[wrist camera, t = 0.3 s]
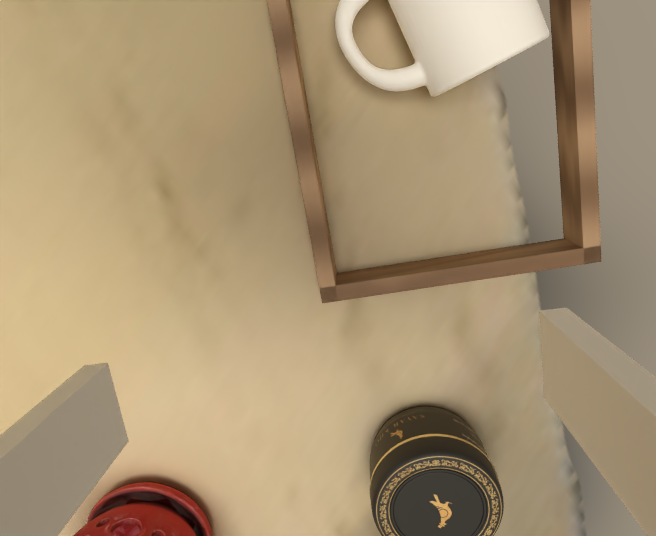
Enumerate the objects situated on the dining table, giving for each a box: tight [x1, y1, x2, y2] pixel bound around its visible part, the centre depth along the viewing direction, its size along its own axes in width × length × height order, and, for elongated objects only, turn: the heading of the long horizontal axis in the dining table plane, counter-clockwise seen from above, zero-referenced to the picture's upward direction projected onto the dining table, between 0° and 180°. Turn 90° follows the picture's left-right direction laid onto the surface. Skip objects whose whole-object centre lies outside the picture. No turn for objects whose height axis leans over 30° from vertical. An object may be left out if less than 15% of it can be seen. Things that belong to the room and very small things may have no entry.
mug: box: [335, 0, 549, 97], centre depth 33 cm, size 12×10×8 cm
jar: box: [370, 407, 504, 536], centre depth 42 cm, size 10×10×8 cm
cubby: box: [267, 0, 601, 303], centre depth 36 cm, size 24×20×4 cm
